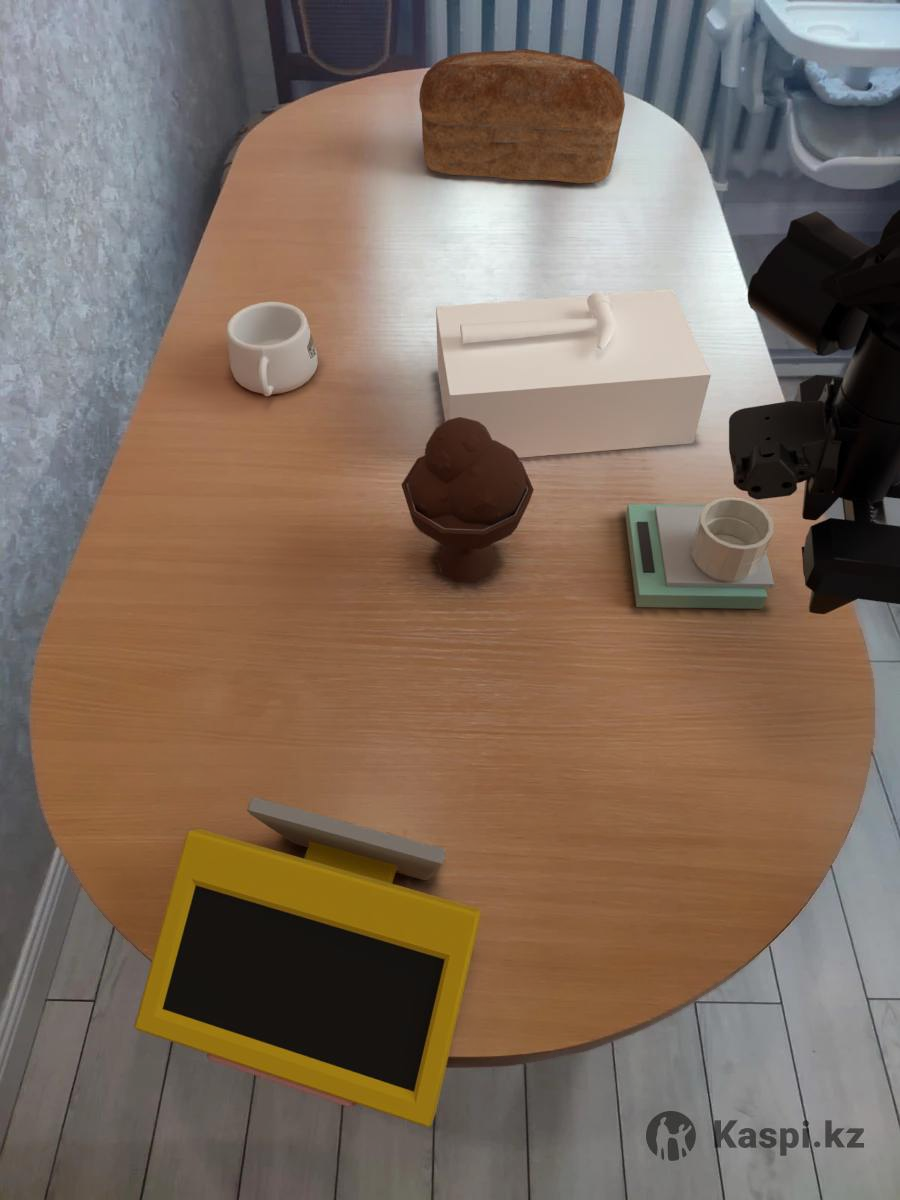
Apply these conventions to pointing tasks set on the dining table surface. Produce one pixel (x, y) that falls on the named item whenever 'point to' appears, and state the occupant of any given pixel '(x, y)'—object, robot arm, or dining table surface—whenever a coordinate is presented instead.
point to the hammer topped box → (573, 371)
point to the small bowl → (731, 538)
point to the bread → (521, 116)
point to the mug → (271, 348)
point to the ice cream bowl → (466, 496)
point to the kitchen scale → (682, 563)
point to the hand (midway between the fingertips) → (812, 563)
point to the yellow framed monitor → (314, 962)
